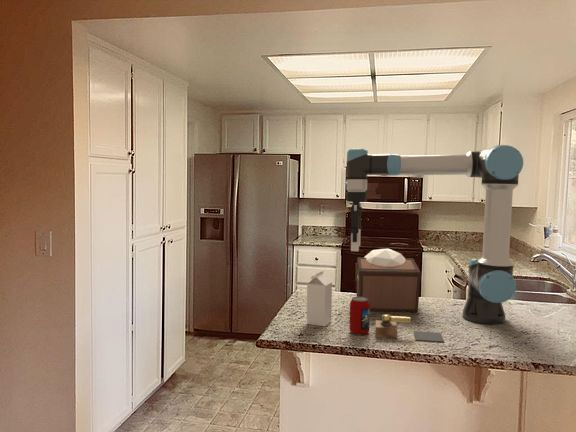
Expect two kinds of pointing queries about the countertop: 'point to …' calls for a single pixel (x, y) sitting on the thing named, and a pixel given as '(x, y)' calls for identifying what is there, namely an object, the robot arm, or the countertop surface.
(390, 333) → the pedestal
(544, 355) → the countertop surface
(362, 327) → the beverage can
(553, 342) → the countertop surface
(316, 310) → the milk carton
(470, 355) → the countertop surface
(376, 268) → the tissue box
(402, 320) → the lever
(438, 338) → the mat
